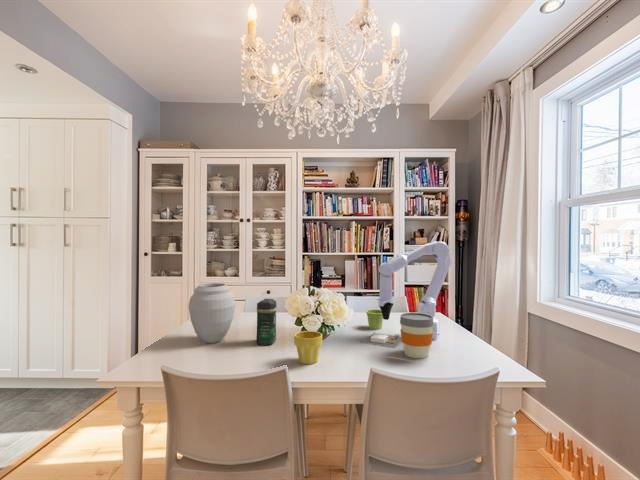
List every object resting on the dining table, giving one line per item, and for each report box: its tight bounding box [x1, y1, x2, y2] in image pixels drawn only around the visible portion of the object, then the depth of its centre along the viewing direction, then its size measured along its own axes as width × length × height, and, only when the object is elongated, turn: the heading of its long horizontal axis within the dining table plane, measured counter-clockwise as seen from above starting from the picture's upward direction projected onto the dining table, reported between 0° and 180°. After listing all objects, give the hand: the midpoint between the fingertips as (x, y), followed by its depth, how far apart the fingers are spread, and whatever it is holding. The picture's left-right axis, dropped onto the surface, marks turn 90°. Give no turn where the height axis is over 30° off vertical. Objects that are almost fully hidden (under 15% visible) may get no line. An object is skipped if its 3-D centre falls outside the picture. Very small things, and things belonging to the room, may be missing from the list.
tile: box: [371, 333, 389, 344], centre depth 149 cm, size 6×2×6 cm
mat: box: [360, 332, 403, 349], centre depth 150 cm, size 15×17×1 cm
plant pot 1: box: [293, 330, 323, 365], centre depth 126 cm, size 10×10×10 cm
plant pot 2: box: [365, 308, 384, 331], centre depth 170 cm, size 9×9×9 cm
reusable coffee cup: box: [399, 312, 434, 359], centre depth 132 cm, size 12×13×15 cm
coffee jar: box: [256, 298, 277, 346], centre depth 148 cm, size 10×8×19 cm
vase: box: [188, 282, 236, 344], centre depth 150 cm, size 20×20×24 cm
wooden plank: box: [386, 333, 400, 344], centre depth 150 cm, size 11×3×1 cm, turn 151°
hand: (386, 319), depth 156 cm, fingers closed
